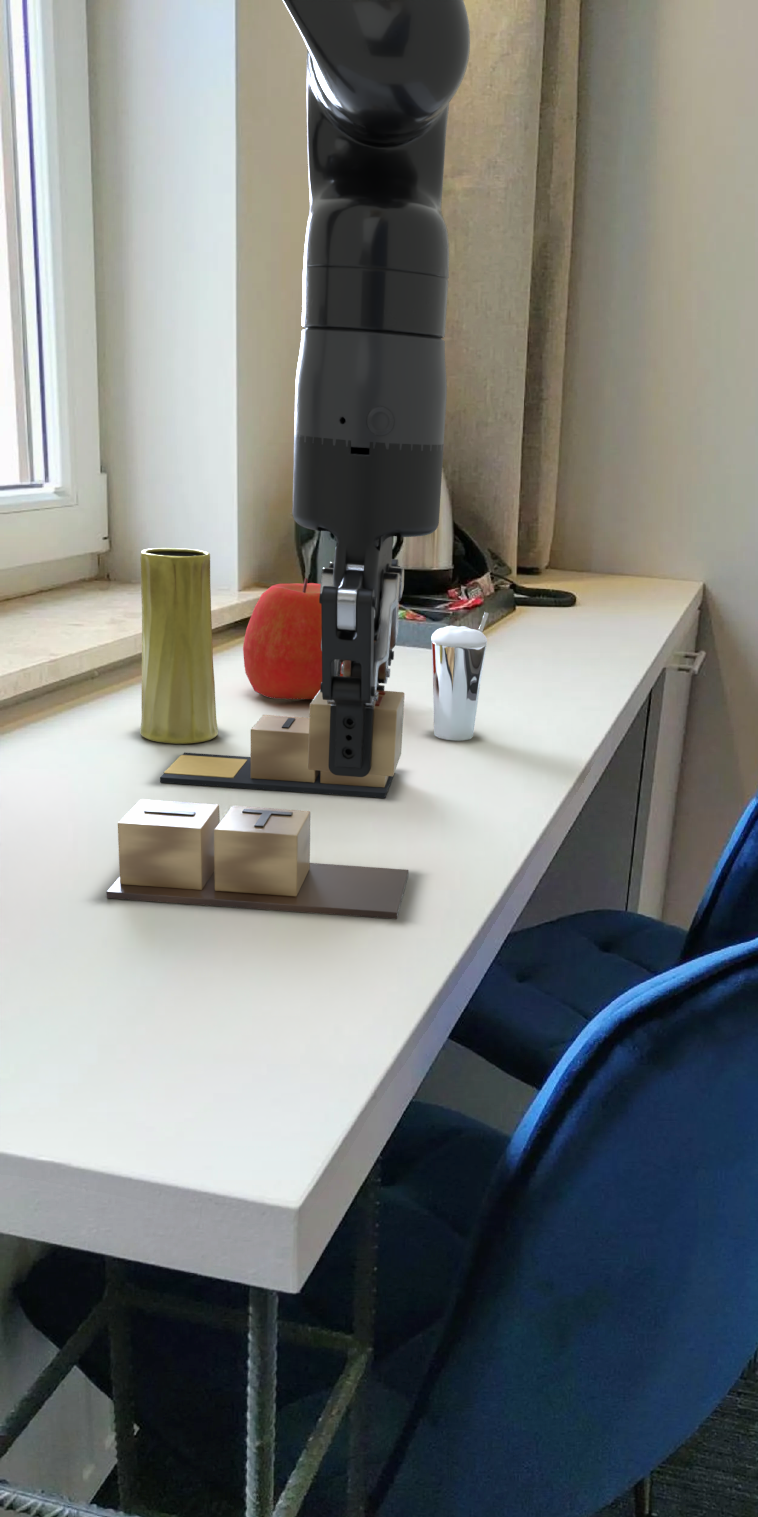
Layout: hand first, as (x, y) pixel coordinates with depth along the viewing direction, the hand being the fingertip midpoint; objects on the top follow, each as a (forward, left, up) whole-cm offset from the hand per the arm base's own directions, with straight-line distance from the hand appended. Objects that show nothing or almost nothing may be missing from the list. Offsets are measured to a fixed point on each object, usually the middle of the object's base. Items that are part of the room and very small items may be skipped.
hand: (355, 760), depth 73 cm
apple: (-11, +50, -8) cm, 51 cm away
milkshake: (+4, +39, -8) cm, 40 cm away
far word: (-8, +23, -8) cm, 25 cm away
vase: (-18, +33, -8) cm, 38 cm away
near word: (-5, 0, -8) cm, 9 cm away
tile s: (0, 0, 0) cm, 0 cm away
